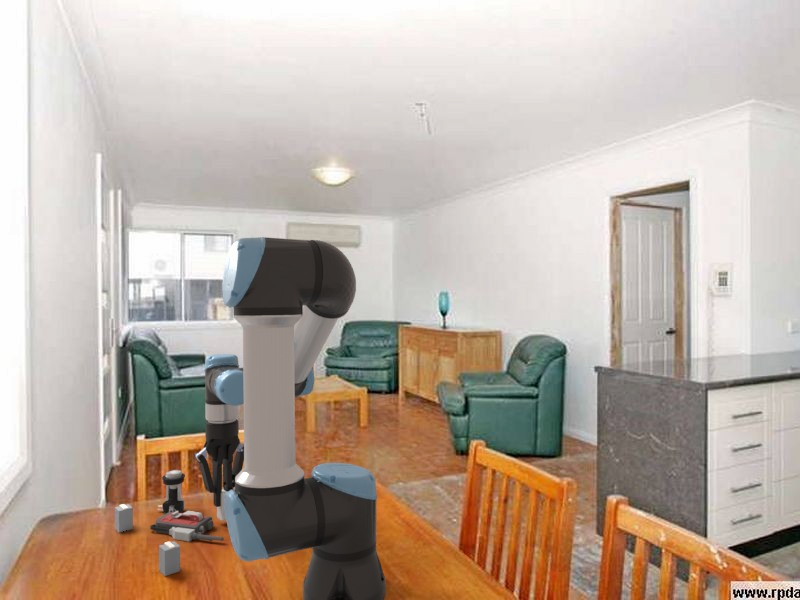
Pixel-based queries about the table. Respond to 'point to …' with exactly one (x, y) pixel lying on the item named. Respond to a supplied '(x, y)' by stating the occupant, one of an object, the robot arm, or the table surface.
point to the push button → (173, 492)
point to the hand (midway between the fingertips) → (222, 518)
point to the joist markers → (167, 551)
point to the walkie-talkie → (185, 526)
